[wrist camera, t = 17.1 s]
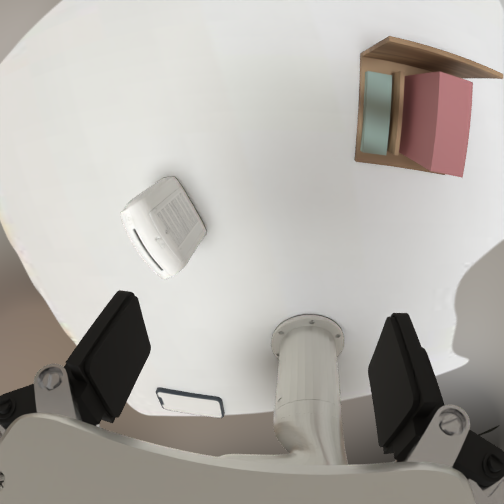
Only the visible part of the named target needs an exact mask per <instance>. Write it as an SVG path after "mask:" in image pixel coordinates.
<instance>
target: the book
mask: <svg viewBox="0 0 504 504" xmlns="http://www.w3.org/2000/svg"><path fill="white" fill-rule="evenodd" d="M472 88H473V82H470V81H467V80H464V79H461V78H459V77H456V76H452V75H449V74H446V73H443V72H431V73H423V74H415V75H408V76H405V79H404V100H403V115H402V127H401V137H400V147H399V153H401V154H403V155H404V156H406V157H408V158H410V159H411V160H413V161H415V162H416V163H418V164H420V165H421V166H423V167H425V168H426V169H428V170H429V171H432V172H438V173H443V174H448V175H453V176H458V177H463V171H464V166H465V159H466V153H467V145H468V138H469V129H470V119H471V106H472Z"/></svg>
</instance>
